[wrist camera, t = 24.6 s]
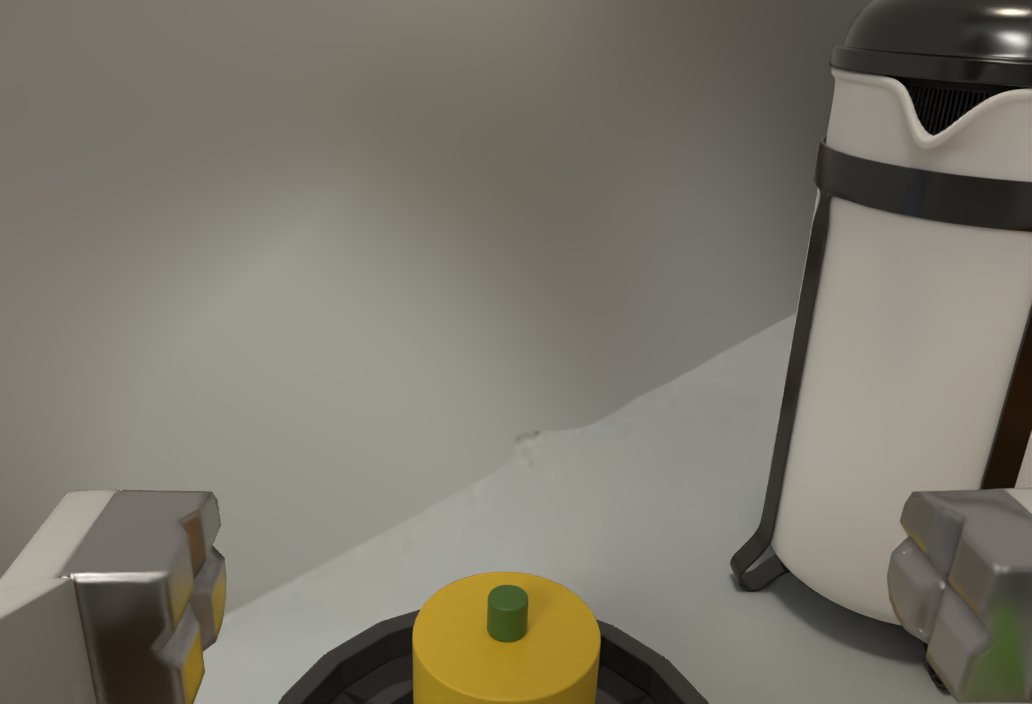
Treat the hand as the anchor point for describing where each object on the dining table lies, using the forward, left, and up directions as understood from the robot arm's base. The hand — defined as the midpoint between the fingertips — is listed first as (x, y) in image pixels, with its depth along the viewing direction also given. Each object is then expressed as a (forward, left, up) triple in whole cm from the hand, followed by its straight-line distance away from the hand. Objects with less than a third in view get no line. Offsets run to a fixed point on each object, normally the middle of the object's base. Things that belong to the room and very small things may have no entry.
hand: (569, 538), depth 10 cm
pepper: (-2, +12, -20) cm, 23 cm away
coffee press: (+15, +30, -21) cm, 39 cm away
